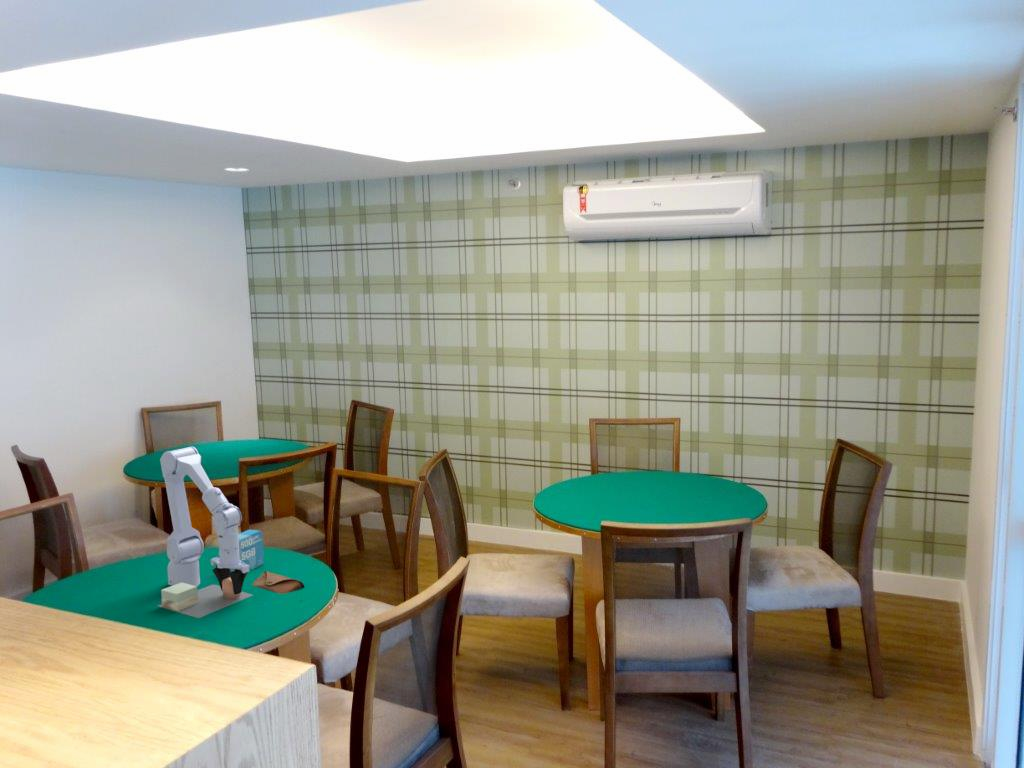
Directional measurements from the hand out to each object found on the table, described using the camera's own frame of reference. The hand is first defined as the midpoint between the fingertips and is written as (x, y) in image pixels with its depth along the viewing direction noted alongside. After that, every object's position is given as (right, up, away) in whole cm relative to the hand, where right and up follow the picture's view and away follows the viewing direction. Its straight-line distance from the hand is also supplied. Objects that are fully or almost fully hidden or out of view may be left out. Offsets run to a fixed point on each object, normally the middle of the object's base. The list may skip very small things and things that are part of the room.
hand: (231, 591), depth 254 cm
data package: (-4, +1, +27) cm, 27 cm away
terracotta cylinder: (0, -1, 0) cm, 1 cm away
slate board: (-7, -3, -3) cm, 8 cm away
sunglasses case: (+11, -2, +9) cm, 14 cm away
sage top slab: (-13, 0, -6) cm, 14 cm away
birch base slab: (-13, -2, -6) cm, 14 cm away
